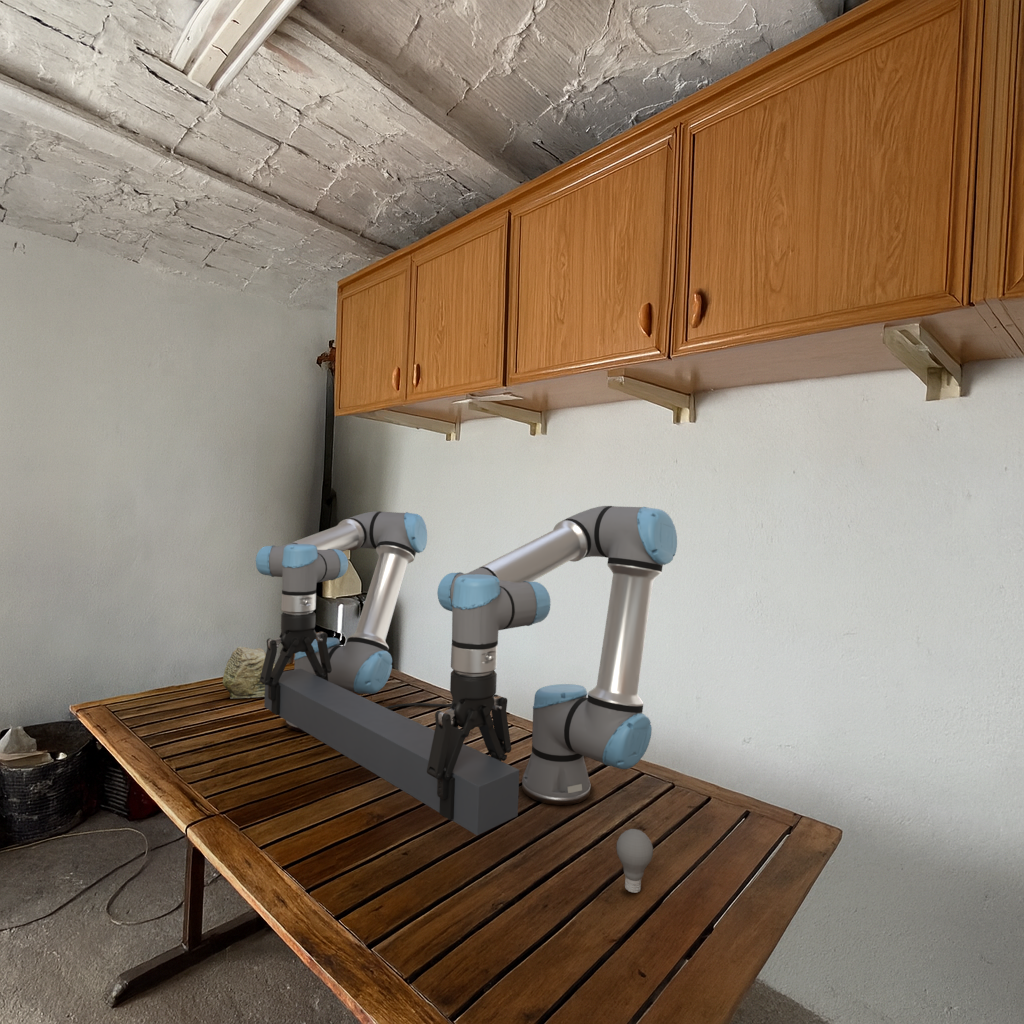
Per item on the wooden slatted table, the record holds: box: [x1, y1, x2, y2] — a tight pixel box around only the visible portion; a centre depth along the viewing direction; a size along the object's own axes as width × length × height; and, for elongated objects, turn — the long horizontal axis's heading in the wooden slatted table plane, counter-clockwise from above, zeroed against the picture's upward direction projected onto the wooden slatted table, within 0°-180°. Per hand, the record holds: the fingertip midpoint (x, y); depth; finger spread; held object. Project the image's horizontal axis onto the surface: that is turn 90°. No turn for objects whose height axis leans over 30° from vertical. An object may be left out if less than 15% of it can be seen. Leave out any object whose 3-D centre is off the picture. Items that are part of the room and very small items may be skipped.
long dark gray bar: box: [263, 668, 520, 836], centre depth 125 cm, size 74×9×8 cm, turn 45°
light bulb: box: [615, 828, 654, 894], centre depth 106 cm, size 6×6×10 cm
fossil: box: [222, 646, 276, 699], centre depth 198 cm, size 9×18×15 cm, turn 132°
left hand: (296, 708), depth 146 cm, fingers closed on long dark gray bar, 9 cm apart
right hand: (469, 806), depth 104 cm, fingers closed on long dark gray bar, 9 cm apart
